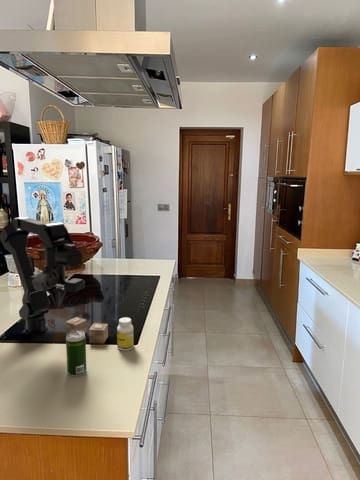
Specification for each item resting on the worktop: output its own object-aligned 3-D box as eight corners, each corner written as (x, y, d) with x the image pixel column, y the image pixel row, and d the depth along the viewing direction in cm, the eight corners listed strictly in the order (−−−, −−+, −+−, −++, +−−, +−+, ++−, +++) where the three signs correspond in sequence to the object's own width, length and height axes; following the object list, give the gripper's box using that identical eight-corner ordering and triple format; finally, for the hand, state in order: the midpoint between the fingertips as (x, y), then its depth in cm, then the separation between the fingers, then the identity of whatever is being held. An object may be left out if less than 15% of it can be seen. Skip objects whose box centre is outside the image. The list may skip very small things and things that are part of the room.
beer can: (90, 371, 99) (88, 333, 96) (73, 379, 95) (71, 340, 93) (80, 364, 102) (78, 327, 100) (63, 371, 99) (61, 333, 96)
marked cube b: (66, 334, 121) (65, 321, 120) (77, 329, 125) (76, 316, 124) (76, 338, 119) (75, 324, 118) (86, 332, 123) (86, 319, 122)
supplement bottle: (114, 346, 113) (113, 319, 111) (127, 341, 117) (127, 314, 115) (123, 352, 110) (123, 324, 108) (136, 347, 113) (136, 319, 111)
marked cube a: (89, 343, 116) (89, 328, 115) (94, 336, 121) (93, 322, 120) (103, 343, 115) (103, 329, 114) (108, 336, 120) (107, 323, 119)
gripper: (13, 264, 105) (16, 311, 108) (62, 271, 99) (65, 321, 102) (39, 256, 115) (41, 299, 118) (85, 262, 109) (87, 307, 112)
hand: (57, 307), depth 113 cm, fingers closed
